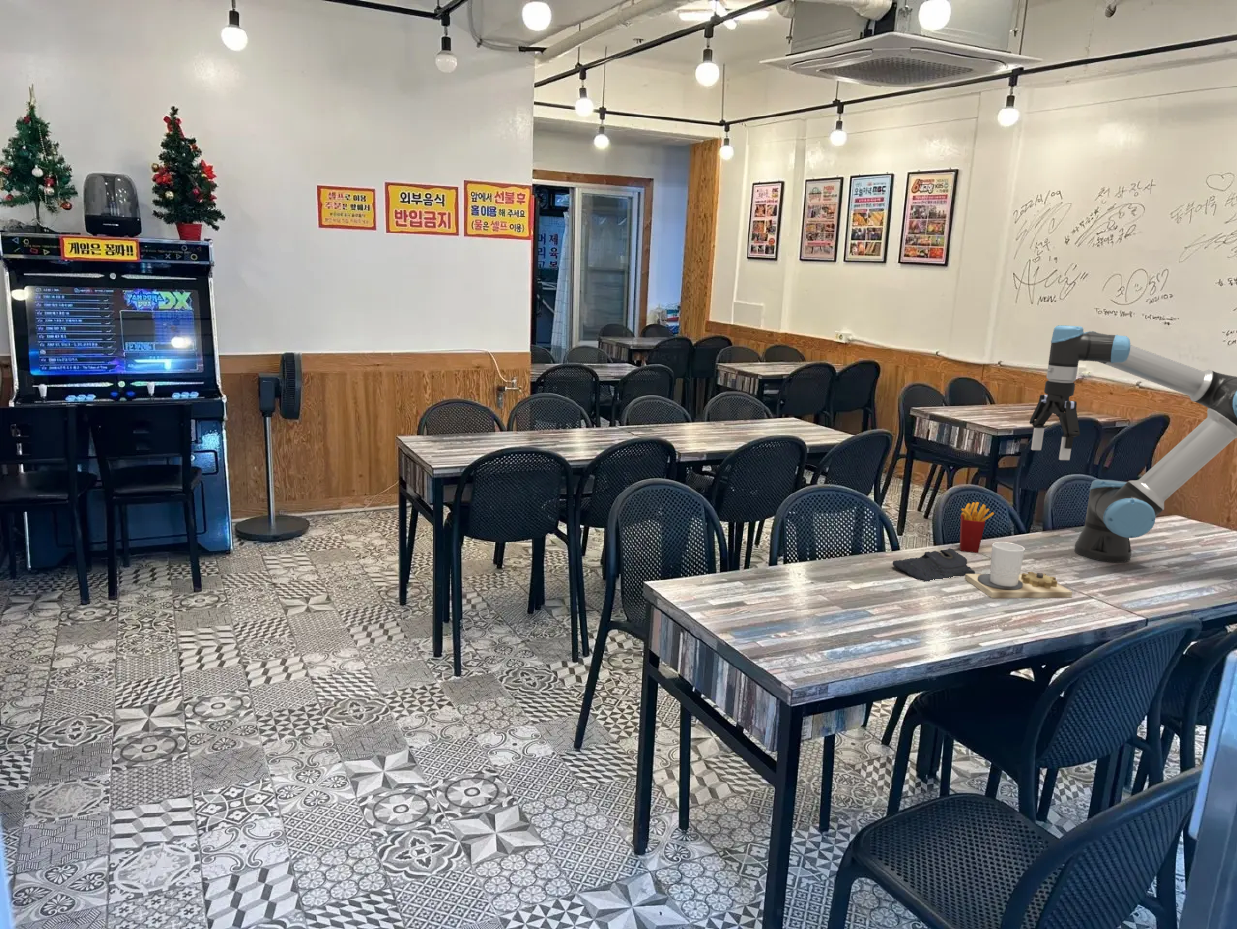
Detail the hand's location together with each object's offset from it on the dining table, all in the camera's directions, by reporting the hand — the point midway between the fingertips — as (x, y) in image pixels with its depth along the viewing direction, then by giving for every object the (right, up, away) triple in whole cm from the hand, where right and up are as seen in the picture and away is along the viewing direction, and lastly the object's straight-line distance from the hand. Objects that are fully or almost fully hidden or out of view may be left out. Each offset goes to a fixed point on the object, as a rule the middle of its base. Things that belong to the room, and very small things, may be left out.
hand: (1049, 454), depth 250 cm
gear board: (-17, -36, -18) cm, 44 cm away
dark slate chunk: (-36, -33, -5) cm, 49 cm away
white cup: (-22, -34, -20) cm, 45 cm away
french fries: (-16, -29, +15) cm, 36 cm away
